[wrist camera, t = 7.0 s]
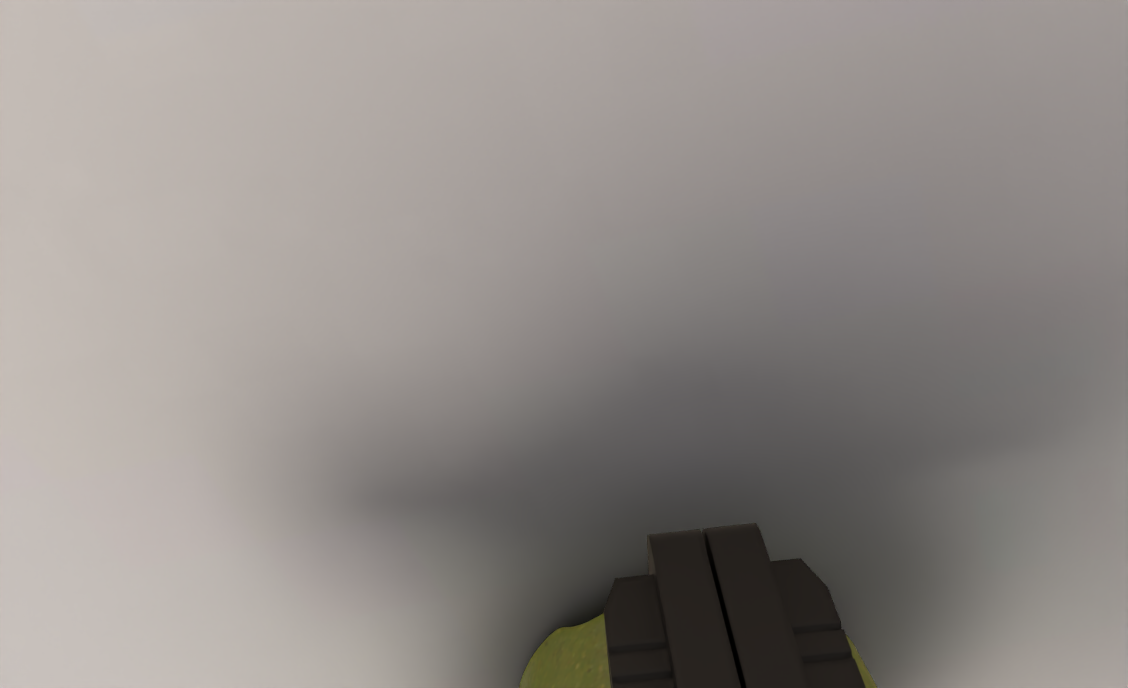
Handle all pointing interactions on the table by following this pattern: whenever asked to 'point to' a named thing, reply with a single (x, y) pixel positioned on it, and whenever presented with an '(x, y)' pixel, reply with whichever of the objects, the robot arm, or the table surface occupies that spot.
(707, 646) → the robot arm
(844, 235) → the table surface
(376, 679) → the table surface
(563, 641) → the plant pot
